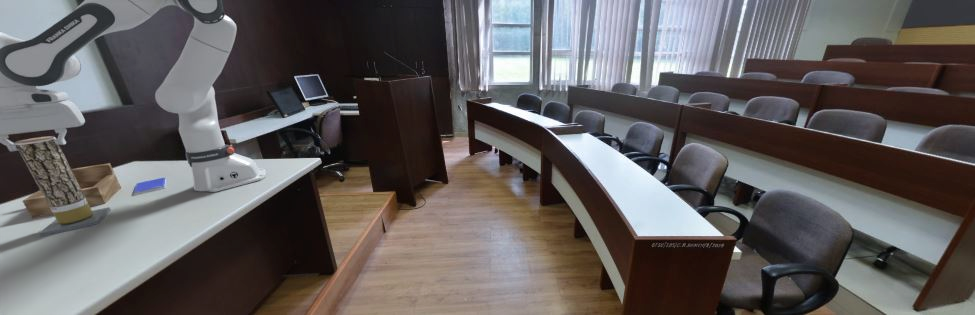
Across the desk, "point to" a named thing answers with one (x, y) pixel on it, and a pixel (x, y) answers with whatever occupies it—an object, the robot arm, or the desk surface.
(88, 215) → the wooden log
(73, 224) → the slate pad
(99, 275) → the desk surface
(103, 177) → the frame
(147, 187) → the hard drive
